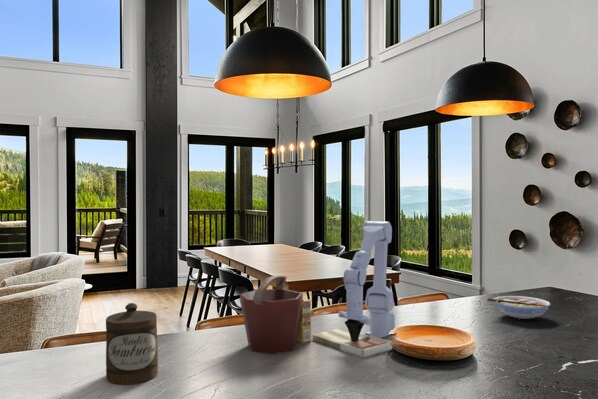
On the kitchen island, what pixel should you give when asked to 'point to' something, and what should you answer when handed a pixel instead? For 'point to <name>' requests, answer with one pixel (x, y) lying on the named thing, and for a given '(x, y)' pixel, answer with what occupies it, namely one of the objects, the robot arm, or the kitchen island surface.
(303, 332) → the candy box
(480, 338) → the kitchen island surface
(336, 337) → the board
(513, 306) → the ramen bowl
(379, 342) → the tile near
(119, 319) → the wooden container
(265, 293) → the bucket
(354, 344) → the tile far
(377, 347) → the tray
